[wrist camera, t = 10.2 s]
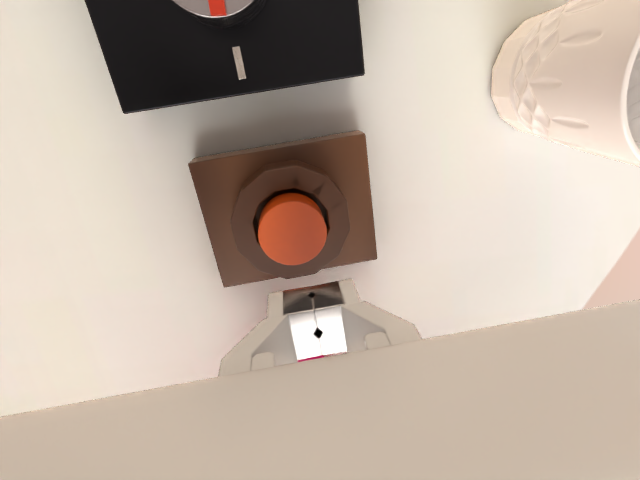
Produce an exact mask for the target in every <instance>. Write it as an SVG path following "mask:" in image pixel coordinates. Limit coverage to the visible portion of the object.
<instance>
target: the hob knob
mask: <svg viewBox="0 0 640 480" xmlns="http://www.w3.org/2000/svg"><path fill="white" fill-rule="evenodd" d="M173 1H174V2H175V3H176V4H177V5H178V6H180V7H181V8H182V9H183V10H184V11H186V12H187V13H188V14H189V15H190V16H192V17H193V18H194V19H195V20H197V21H198V22H200V23H202V24H203V25H205V26H208V27H210V28H214V29H218V30H233V29H237V28H240V27H243V26H245V25H247V24H248V23H250V22H251V21H253V20H254V19H255V18H256V17H257V16H258V14H259V13H260V12H261V11H262V9H263V7H264V5H265V3H266V1H267V0H173Z"/></svg>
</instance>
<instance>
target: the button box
mask: <svg viewBox="0 0 640 480" xmlns="http://www.w3.org/2000/svg"><path fill="white" fill-rule="evenodd" d="M188 165H189V169H190V172H191V176H192V179H193V182H194V186H195V189H196V193H197V196H198V200H199V203H200V207H201V210H202V214H203V217H204V221H205V224H206V227H207V231H208V234H209V238H210V241H211V245H212V248H213V252H214V255H215V259H216V262H217V265H218V269H219V272H220V276H221V279H222V283H223V286H224V287H230V286H235V285H241V284H246V283H251V282H257V281H262V280H268V279H273V278H278V277H281V278H285V279H290V278H295V277H301V276H306V275H311V274H316V273H317V272H318V271H320V270H321V269H326V268H332V267H337V266H343V265H348V264H353V263H359V262H364V261H369V260H375V259H377V251H376V240H375V230H374V220H373V209H372V199H371V189H370V178H369V168H368V158H367V147H366V137H365V133H363V132H361V131H359V130H357V131H351V132H345V133H339V134H333V135H327V136H321V137H315V138H310V139H304V140H298V141H292V142H286V143H280V144H274V145H268V146H262V147H256V148H250V149H245V150H239V151H233V152H227V153H221V154H215V155H209V156H203V157H197V158H194V159H193V160H192V161H191V162H190V163H188ZM284 193H299V194H303V195H305V196H307V197H309V198H310V199H312V200H313V201H314V202H315V203H316V204H317V205H318V207H319V208H320V210H321V213H322V215H323V218H324V221H325V223H326V228H327V238H326V242H325V245H324V247H323V248H322V250H321V251H320V253H319V254H318V255H317V256H316V257H314V258H313V259H312V260H310V261H308V262H306V263H303V264H299V265H285V264H281V263H278V262H276V261H274V260H272V259H271V258H270V257H268V256H267V255H266V254H265V252H264V251H263V249H262V248H261V246H260V243H259V239H258V227H259V218H260V214H261V212H262V210H263V208H264V206H265V205H266V204H267V203H268V202H269V201H270V200H271V199H273V198H274V197H276V196H278V195H281V194H284Z"/></svg>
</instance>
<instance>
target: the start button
mask: <svg viewBox="0 0 640 480" xmlns="http://www.w3.org/2000/svg"><path fill="white" fill-rule="evenodd" d="M326 238H327V228H326V223H325V221H324V218H323V215H322V213H321V210H320V208H319V207H318V205H317V204H316V203H315V202H314V201H313V200H312V199H310V198H309V197H307V196H305V195H303V194H299V193H284V194H281V195H278V196H276V197H274V198H273V199H271V200H270V201H269V202H268V203H267V204H266V205H265V206H264V208H263V210H262V212H261V214H260V218H259V227H258V239H259V243H260V246H261V248H262V249H263V251H264V252H265V254H266V255H267V256H268V257H270V258H271V259H272V260H274V261H276V262H278V263H281V264H285V265H299V264H303V263H306V262H308V261H310V260H312V259H313V258H314V257H316V256H317V255H318V254H319V253H320V251H321V250H322V248H323V247H324V245H325V242H326Z"/></svg>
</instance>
